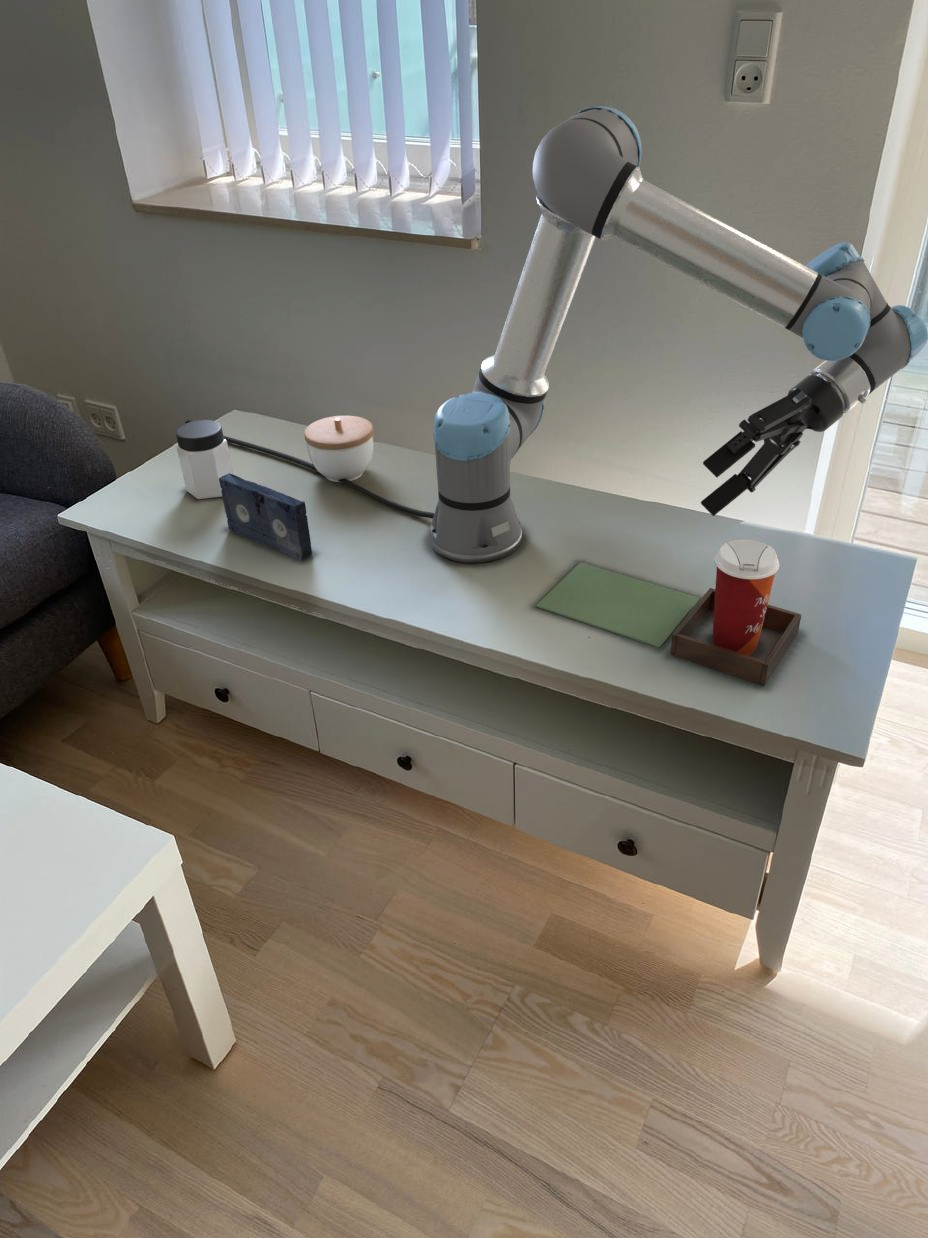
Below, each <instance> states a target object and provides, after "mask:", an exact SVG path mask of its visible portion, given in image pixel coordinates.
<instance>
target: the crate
mask: <svg viewBox="0 0 928 1238" xmlns="http://www.w3.org/2000/svg"><path fill="white" fill-rule="evenodd" d="M714 604H715V588H713V587H709V588H708V589H707V591H706V592H705V593H704V594H703V596H702V597H701V598H700V599H699V600H698V602H697V603H696V604H695V605H694V607H693V608H692V609H691V610H690V612H689V613H688V614H687V615H686V617H685V618H684V619H683V620H682V621H681V623H680V624H679V625H678V626H677V628H676V629H675V630H674V631H673V633H672V634H671V641H670V642H671V643H670V651H669V655H670V656H673V657H675V658H679V659H682V660H685V661H687V662H691V663H693V664H696V665H700V666H703V667H706V668H709V669H712V670H715V671H718V672H720V673H724V674H727V675H730V676H733V677H737V678H739V679H742V680H745V681H749V682H750V683H754V684H757V685H760V686H763V687H765V686H766V685H767V683H768V681H769V680H770V679H771V678H772V676H773V674H774V672H775V670H777V667H778V666H779V664H780V663H781V661H782V660H783V658H784V657H785V655H786V654H787V652H788V651H789V649H790V647H791V646H792V644H793V643H794V642H795V639H796V638H797V637H798V635H799V630H800V625H801V620H802V613H798V612H795V611H791V610H788V609H785V608H781V607H778V606H776V605H775V606H774V605H772V604H768V605H767V609H766V613H765V617H764V621H763V625H762V628H764V629H765V628H766V629H769V630H772V631H776V632H779V633H782V634H781V636H780V637H779V638H778V641H777V642H776V643H775V645H774V646H773V648H772V650H771V651H770V653H769V655H768V656H767V657H766V659H765V660H763V659H760V658H757V657H753V656H751V655H749V656H747V655H744V654H741V653H738V652H735V651H732V650H729V649H726V648H722V647H719V646H716V645H713V643H709V642H707V641H703V640H701V639H697V638H694V637H692V634H693V633H694V632H695V630H697V628H698V627H699V626H700V624H701V623H702V622H703V620H704V619H705V618H706V617H707V616H708V614H709V613H710V612H713V613H714Z"/></svg>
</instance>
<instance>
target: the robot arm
mask: <svg viewBox="0 0 928 1238" xmlns="http://www.w3.org/2000/svg"><path fill="white" fill-rule="evenodd" d="M642 147H643V146H642V140H641V136H640V133H639V131H638V128H637V127H636V126H635V124H634V122H633V121H632V120H631V118H630V117H629V116H627V115H626V114H625V113H624V112H622V111H621V110H619V109H616V108H614V107H611V106H602V105H599V106H591V107H586V108H582V109H580V110H579V111H577V112H576V113H574V114H573V115H572V116H571V117H569V118H568V119H567V120H565V121H563V122H561V123H558V124H557V125H555V126H554V127H552V128H551V129H550V130H549V131H548V132H547V133H546V134H545V135H544V137H543V138H541V141H540V142H539V144H538V146H537V148H536V150H535V152H534V157H533V161H532V180H533V183H534V188H535V190H536V192H537V194H536V197H535V201H536V203H537V205H538V207H539V209H540V211H541V215H540V218H539V220H538V224H537V227H536V230H535V233H534V236H533V239H532V241H531V245H530V247H529V250H528V254H527V256H526V260H525V263H524V266H523V269H522V272H521V275H520V277H519V281H518V283H517V286H516V290H515V292H514V295H513V299H512V302H511V304H510V307H509V310H508V313H507V316H506V320H505V323H504V326H503V328H502V332H501V334H500V337H499V341H498V343H497V346H496V348H495V349H496V350H495V353H494V354H493V355H490V356H488V357H486V358H485V359H483V361H482V362H481V365H480V368H479V370H478V374H477V377H476V379H475V382H474V386H473V388H472V392H468V393H463V394H460V395H459V396H458V397H452V398H449V399H448V400H446V401H445V402H444V403H443V404H441V405H440V406H439V407H438V409H437V411H436V412H435V415H434V420H433V421H434V423H433V425H434V426H433V432H432V435H433V442H434V451H435V452H434V454H435V467H436V479H437V480H436V481H437V494H438V496H437V497H438V500H437V504H436V507H435V510H434V512H430V511H423V510H418V509H415V508H411V507H408V506H405V505H403V504H399V503H397V502H395V501H391V500H389V499H386V498H385V497H382V496H380V495H379V494H376V493H375V492H372V491H371V490H369V489H367V488H365V487H363V486H361V485H360V484H358V483H355V482H353V481H349V480H347V479H340V480H338V481H339V482H338V483H342V484H343V485H345V486H348V487H350V488H352V489H353V490H356V491H357V492H359V493H362V494H363V495H365V496H367V497H369V498H370V499H372V500H374V501H376V502H377V503H380V504H383V505H385V506H387V507H390V508H392V509H394V510H397V511H400V512H403V513H406V514H409V515H412V516H415V517H416V516H417V517H420V518H426V519H427V518H428V519H432V521H431V524H430V526H429V527H430V528H429V541H430V546H431V548H432V550H433V551H434V552H436V554H438V555H439V556H441V557H443V558H445V559H448V560H450V561H454V562H458V563H459V562H460V563H465V564H467V563H468V564H479V563H488V562H493V561H497V560H500V559H503V558H505V557H507V556H509V555H511V554H512V553H514V552H516V551H517V549H518V548H519V547H520V546H521V544H522V540H523V529H522V523H521V521H520V519H519V517H518V514H517V511H516V508H515V506H514V503H513V500H512V497H511V463H512V462H511V461H512V459H513V458H514V457H515V455H516V454H517V453H518V451H519V450H520V449H521V447H522V446H523V445H524V443H525V442H526V441H527V440H528V438H529V437H530V436H531V435H532V434H533V433H534V431H535V430H536V429H537V428H538V427H539V425H540V423H541V420H542V418H543V415H544V411H545V404H546V402H545V401H546V397H547V394H548V391H549V389H550V381H549V379H548V377H547V375H546V371H547V367H548V365H549V362H550V360H551V357H552V354H553V352H554V349H555V346H556V344H557V342H558V338H559V335H560V333H561V331H562V328H563V325H564V322H565V320H566V318H567V315H568V312H569V309H570V307H571V304H572V301H573V299H574V296H575V293H576V291H577V288H578V286H579V284H580V280H581V278H582V276H583V272H584V269H585V267H586V264H587V261H588V259H589V256H590V253H591V250H592V248H593V247H594V244H595V241H596V238H597V239H599V240H601V241H603V242H604V241H606V240H609V239H613V238H615V239H617V240H618V241H621V242H623V243H624V244H626V245H627V246H630V247H632V248H634V249H636V250H637V251H639V252H641V253H643V254H645V255H646V256H649V257H650V258H652V259H654V260H656V261H658V262H660V263H662V264H663V265H664V266H665V265H666V266H667V267H670V268H671V269H673V270H675V271H677V272H679V273H681V274H683V275H684V276H686V277H689V278H690V279H692V280H694V281H696V282H697V283H699V284H701V285H703V286H705V287H707V288H709V289H711V290H713V291H714V292H716V293H718V294H720V295H722V296H723V297H726V298H727V299H730V300H731V301H733V302H734V303H736V304H739V305H740V306H742V307H744V308H746V309H748V310H750V311H752V312H754V313H755V314H758V315H759V316H761V317H763V318H765V319H767V320H769V321H770V322H773V324H774V323H775V324H776V325H778V326H780V327H782V328H784V329H786V330H788V331H790V332H791V333H793V334H795V335H797V336H798V337H800V338H802V339H803V343H804V345H805V347H806V349H807V350H808V351H809V352H810V353H811V354H812V356H814V357H815V358H818V359H820V360H823V362H821V363H820V364H819V365H817V366H816V367H815V368H814V369H812V371H810V374H808V375H806V376H804V378H801V380H800V381H799V382H797V383H796V384H795V385H793V386H792V387H790V389H789V390H788V391H787V395H786V396H784V397H781V398H780V399H778V400H776V401H774V402H772V403H771V404H769V405H767V406H765V407H763V408H761V409H759V410H757V411H756V412H754V413H751V414H750V415H749V416H748V418H747V419H745V418H744V419H742V420H741V421H740V422H739V424H738V427H739V428H740V429H741V430H740V431H739V432H738V433H737V434H735V435H734V436H733V437H732V438H730V439H729V440H728V441H727V442H725V443H724V444H723V445H722V446H721V447H719V448H718V449H717V450H716V451H714V452H713V453H712V454H711V455H709V456H708V457H707V458H706V459H705V460H703V461H702V465H703V466H704V467H705V468H706V469H707V470H708V471H709V472H710V473H711V474H712V475H713V476H714V477H715V478H719V477H720V476H721V475H723V474H724V473H725V472H726V471H727V470H729V469H730V468H732V466H734V465H735V464H736V463H737V462H738V461H740V460H741V459H742V458H743V457H744V456H746V455H747V454H748V453H749V452H751V451H752V450H753V449H754V448H756V443H758V442H761V441H763V444H762V446H761V447H760V448H759V449H758V450H757V451H756V452H755V454H754V455H753V456H752V457H751V458H750V460H749V461H748V462H747V463H746V464H745V466H744V467H743V468H742V469H741V470H740V472H738V473H737V474H736V473H734V474H732V476H731V477H729V478H728V479H727V480H726V481H724V482H723V483H722V484H720V485H719V486H718V487H717V488H716V489H715V490H713V491H712V492H711V493H710V494H708V495H707V496H706V497H705V498H704V499H702V500H701V501H700V505H702V507H703V508H704V509H705V510H706V511H708V513H709V514H710V515H711V516H712V517H715V516H716V515H717V514H719V512H721V511H722V510H723V509H724V508H726V507H727V506H728V505H730V504H731V503H732V502H734V500H736V499H737V498H738V497H739V496H741V495H742V494H743V493H744V492H746V490H748V491H749V492H750V493H751V494H752V493H754V492H755V491H757V490H756V487H758V486H759V484H760V483H761V482H762V481H763V480H765V478H766V477H767V476H769V474H771V472H772V471H773V470H774V469H775V468H776V467H777V466H778V465H779V464H780V463H781V462H782V461H783V460H784V459H785V458H786V457H787V456H788V455H789V454H790V453H791V452H792V451H794V449H796V448H797V447H799V445H800V444H801V440H800V439H801V438H802V437H803V435H804V431H806V430H811V431H813V432H817V433H822V432H825V431H827V430H828V429H829V428H830V427H831V426H833V425H835V424H836V422H837V421H839V420H840V419H841V418H843V416H844V414H847V413H848V412H849V411H851V410H852V409H853V408H855V406H857V404H859V403H861V404H866V403H867V401H868V398H867V397H868V396H869V395H871V394H872V393H873V392H874V391H875V390H876V389H877V388H879V387H880V386H881V385H882V384H884V383H885V382H886V381H888V380H889V379H890V378H892V377H893V376H894V375H896V374H897V373H898V372H900V371H901V370H903V369H904V368H906V367H907V366H908V365H909V364H910V363H911V362H912V361H913V360H914V359H915V358H916V357H918V355H920V353H921V352H922V351H923V350H924V349H925V348H926V346H927V344H928V328H927V325H926V324H925V321H924V319H923V318H922V317H920V316H918V315H917V313H916V311H915V310H913V308H911V307H908V306H906V305H902V304H901V305H900V304H897V305H893V306H892V307H891V306H890V305H889V303H888V302H887V300H886V299H885V297H884V294H883V293H882V292H881V290H880V288H879V287H878V285H877V283H876V281H875V279H874V277H873V275H872V273H870V271H869V269H868V267H867V265H866V263H865V260H864V258H863V257H862V256H860V253H858V251H857V249H856V248H855V246H854V245H853V244H852V243H851V242H848V241H844V242H843V241H842V242H840V243H836V244H835V245H833V246H831V247H829V248H828V249H826V250H825V251H823V252H820V253H819V254H818V255H817V256H816V257H814V258H813V259H812V260H810V261H809V262H808V263H807V264H806V265H805V264H803V263H801V262H799V261H797V260H795V259H793V258H792V257H789V256H788V255H786V254H784V253H782V252H781V251H779V250H776V249H775V248H773V247H771V246H769V245H767V244H766V243H763V242H761V241H760V240H758V239H756V238H754V237H752V236H750V235H749V234H746V233H745V232H743V231H741V230H739V229H737V228H735V227H734V226H731V225H730V224H728V223H725V222H724V221H722V220H720V219H718V218H716V217H715V216H714V215H713V216H712V215H710V214H708V213H707V212H705V211H703V210H702V209H699V208H697V207H696V206H694V205H692V204H690V203H688V202H686V201H685V200H682V199H681V198H678V197H676V196H675V195H673V194H671V193H669V192H668V191H665V190H663V189H662V188H660V187H658V186H656V185H654V184H652V183H650V182H649V181H646V180H645V179H644V177H643V174H642V171H641V168H640V165H641V160H642V154H643V153H642V152H643V148H642ZM193 421H194V420H192V419H187V420H186V421H185V423H184V424H186V423H189V422H193ZM223 437H224V439H226V440H227V443H229V444H230V443H231V444H233V445H237V446H241V447H244V448H248V449H251V450H254V451H258V452H261V453H265V454H267V455H271V456H273V457H277V458H279V459H283V460H286V461H289V462H292V463H294V464H297V465H300V466H302V467H305V468H308V469H310V470H313V471H314V472H317V473H320V472H319V471H318V470H317V469H316V468H315V467H314V465H313V464H312V462H309V461H307V460H303V459H302V458H301V459H300V458H298V457H295V456H292V455H290V454H287V453H284V452H281V451H277V450H274V449H271V448H268V447H264V446H261V445H258V444H254V443H252V442H251V443H250V442H248V441H244V440H241V439H236V438H233V437H229V436H227V435H223Z"/></svg>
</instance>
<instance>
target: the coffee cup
mask: <svg viewBox="0 0 928 1238" xmlns="http://www.w3.org/2000/svg"><path fill="white" fill-rule="evenodd" d="M714 564H715V566H716V571H715V572H716V574H715V588H714V589H715V604H714V612H713V622H712V625H713V626H712V644H713V645H716V646H719V647H722V648H726V649H729V650H732V651H735V652H738V653H741V654H744V655H747V656H752V655H753V654H754V653H755V652H756V650H757V647H758V644H759V641H760V637H761V633H762V629H763V627H762V625H763V621H764V617H765V613H766V609H767V605H769V604H768V603H769V601H770V596H771V591H772V587H773V583H774V579H775V575H776V573H777V572H778V570H779V568H780V561H779V559H778V555H777V552H776V550H775V549H774V548H773V547H772V546H771V545H768V544H767V543H765V542H762V541H758V540H755V539H745V538H743V539H735V540H730V541H728V542H727V541H726V542H725V543H724V544H723V545H722V546H721V547H720V548H719V550H718V552H717V553H716V554H715V556H714Z"/></svg>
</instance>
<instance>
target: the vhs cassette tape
mask: <svg viewBox="0 0 928 1238" xmlns="http://www.w3.org/2000/svg"><path fill="white" fill-rule="evenodd" d="M219 482H220V488H222V490H221V492H222V501H223V502H222V503H223V506H224V513H225V516H226V523H227V526H228V527H227V528H228V530H229V531H230V532H233V533H235V534H237V535H240V536H242V537H245V538H247V539H249V540H251V541H254V542H257V543H258V544H261V545H264V546H266V547H268V548H270V549H273V550H275V551H277V552H280V553H282V554H285V555H288V557H289V556H290V557H292V558H294V559H296V560H299V561H304V560H306V559H307V558H309V557H310V556H312V555H313V550H312V541H311V535H310V534H311V533H310V527H309V520H308V515H307V506H306V502H305V501H304V500H303V501H302V500H299V499H298V498H295V497H292V496H289V495H288V494H287V495H286V494H285V493H282V492H279V491H276V490H275V489H273V488H269V487H267V486H265V485H261V484H258V483H256V482H254V481H251V480H247V479H246V480H245V479H244V478H242V477H240V476H238V475H235V474H234V473H233V474H230V473H228V474H226V475H224V476H222V477H220V478H219Z"/></svg>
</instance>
